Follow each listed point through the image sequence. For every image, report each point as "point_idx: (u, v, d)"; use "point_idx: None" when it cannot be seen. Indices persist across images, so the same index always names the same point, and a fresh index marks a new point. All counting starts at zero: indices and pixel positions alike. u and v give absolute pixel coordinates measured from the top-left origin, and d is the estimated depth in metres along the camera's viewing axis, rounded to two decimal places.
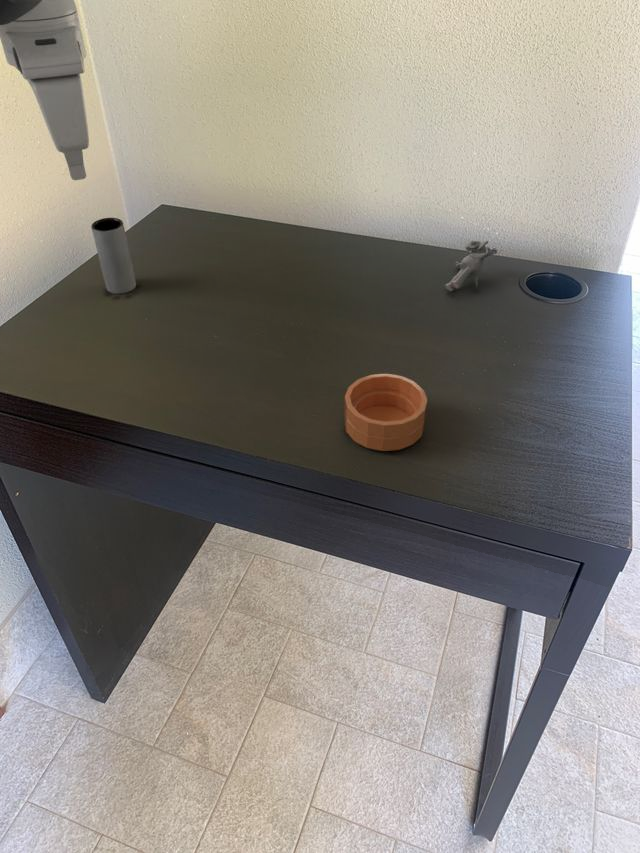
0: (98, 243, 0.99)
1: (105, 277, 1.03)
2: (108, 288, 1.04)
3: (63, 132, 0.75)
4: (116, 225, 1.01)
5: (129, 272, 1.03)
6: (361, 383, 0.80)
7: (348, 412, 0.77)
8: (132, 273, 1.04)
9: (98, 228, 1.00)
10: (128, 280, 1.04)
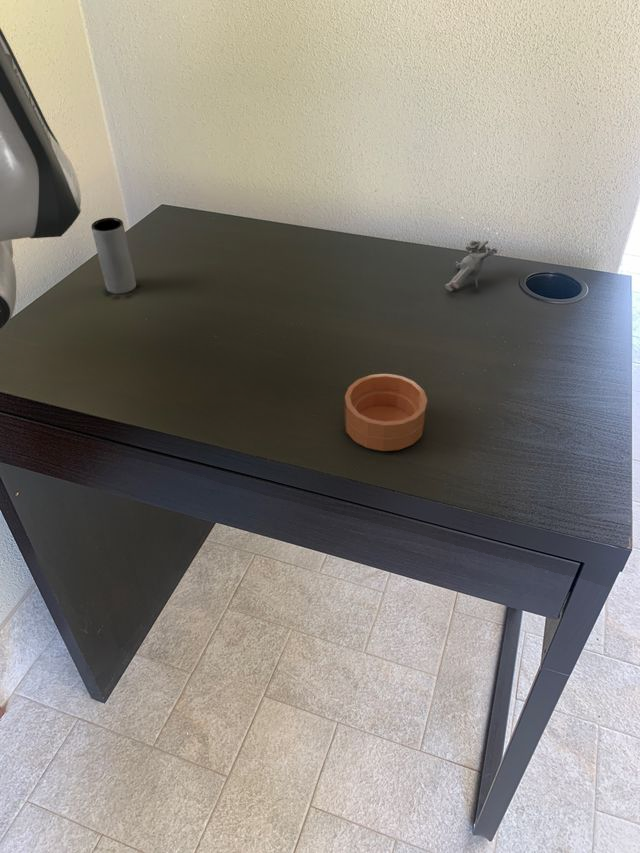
0: (98, 243, 0.99)
1: (105, 277, 1.03)
2: (108, 288, 1.04)
3: None
4: (116, 225, 1.01)
5: (129, 272, 1.03)
6: (361, 383, 0.80)
7: (348, 412, 0.77)
8: (132, 273, 1.04)
9: (98, 228, 1.00)
10: (128, 280, 1.04)
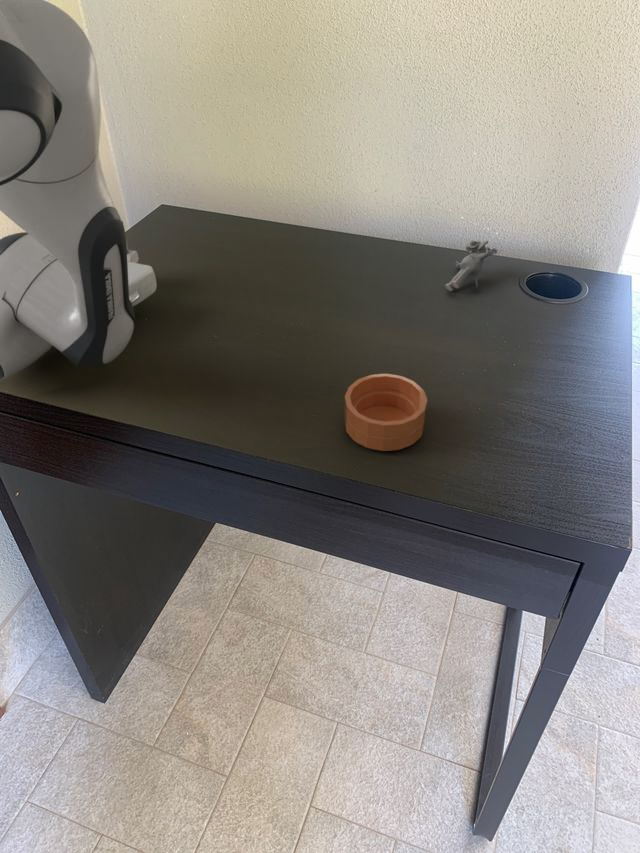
0: None
1: None
2: None
3: None
4: None
5: None
6: (361, 383, 0.80)
7: (348, 412, 0.77)
8: None
9: None
10: None
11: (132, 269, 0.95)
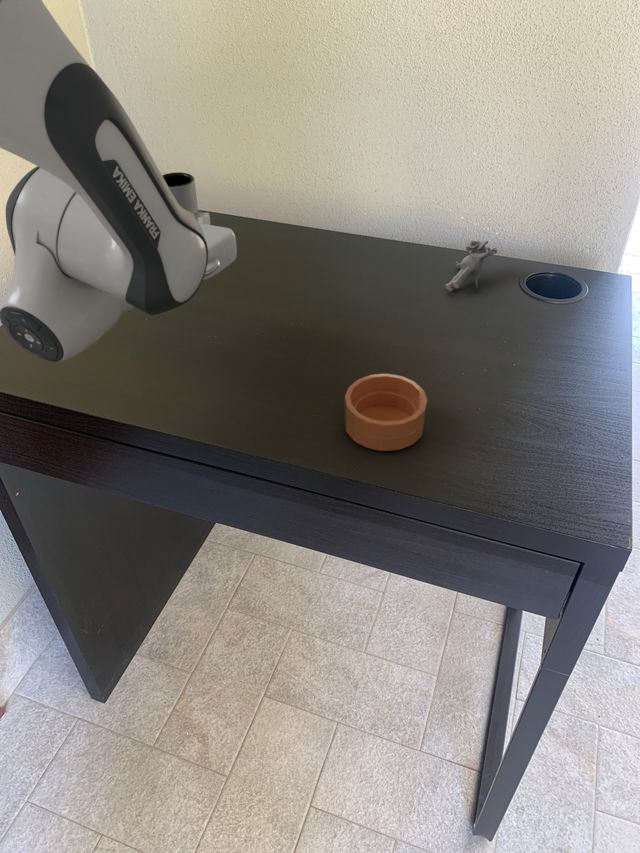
0: None
1: None
2: None
3: None
4: (184, 181, 0.84)
5: None
6: (361, 383, 0.80)
7: (348, 412, 0.77)
8: None
9: None
10: None
11: (209, 232, 0.78)
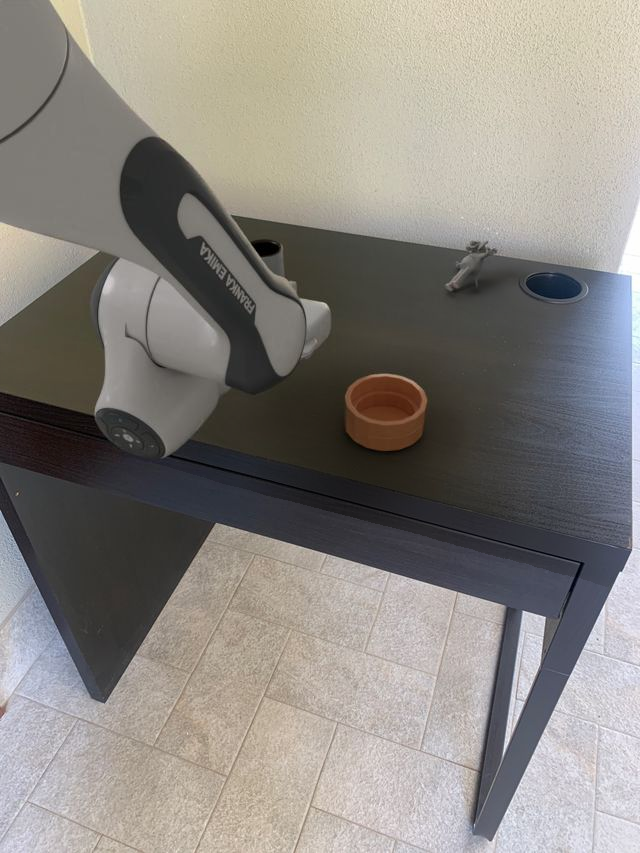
0: None
1: None
2: None
3: None
4: (271, 249, 0.79)
5: None
6: (361, 383, 0.80)
7: (348, 412, 0.77)
8: None
9: None
10: None
11: (304, 307, 0.73)
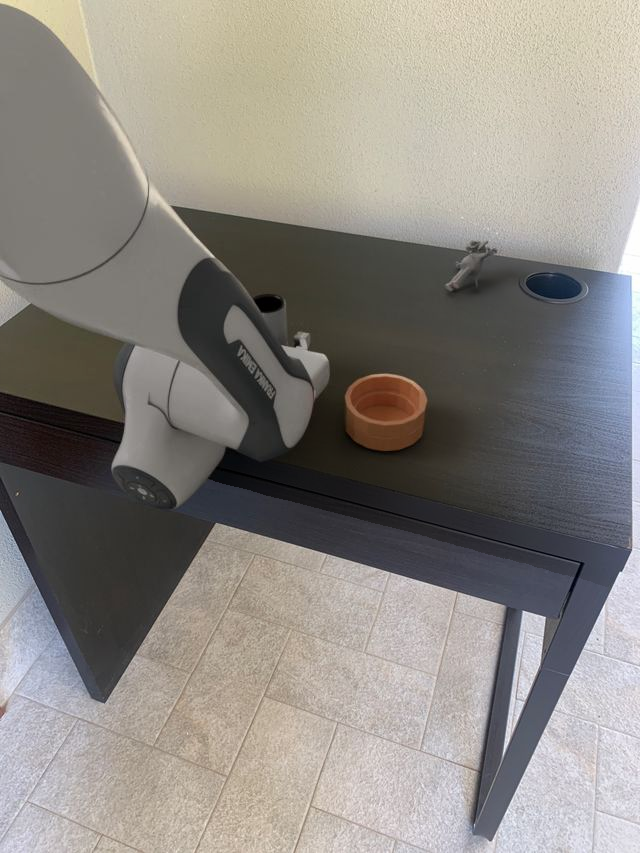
0: None
1: None
2: None
3: None
4: (274, 302, 0.84)
5: None
6: (361, 383, 0.80)
7: (348, 412, 0.77)
8: None
9: None
10: None
11: (304, 359, 0.78)
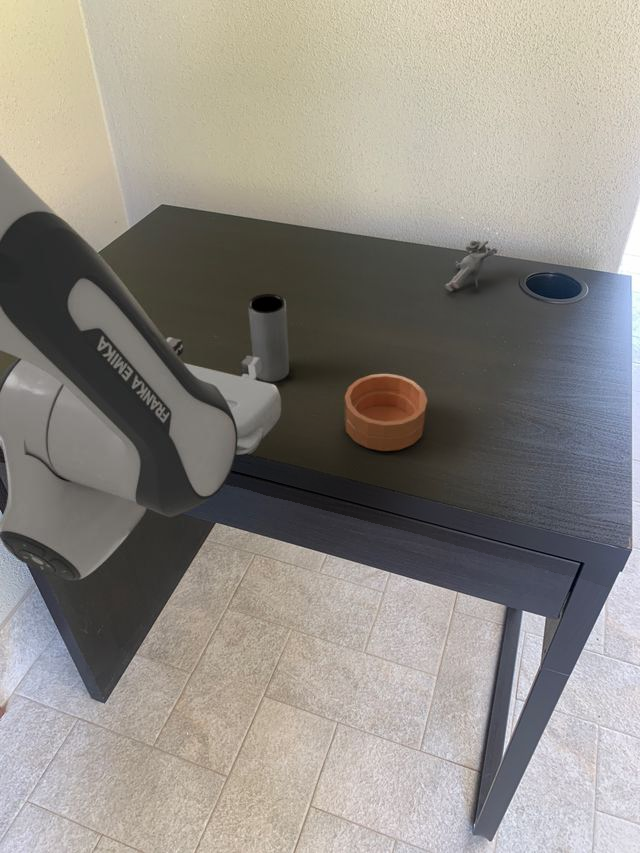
0: (256, 326, 0.82)
1: None
2: (259, 375, 0.87)
3: None
4: (274, 302, 0.84)
5: (286, 357, 0.86)
6: (361, 383, 0.80)
7: (348, 412, 0.77)
8: (288, 357, 0.87)
9: (254, 307, 0.83)
10: (284, 366, 0.87)
11: (250, 391, 0.66)
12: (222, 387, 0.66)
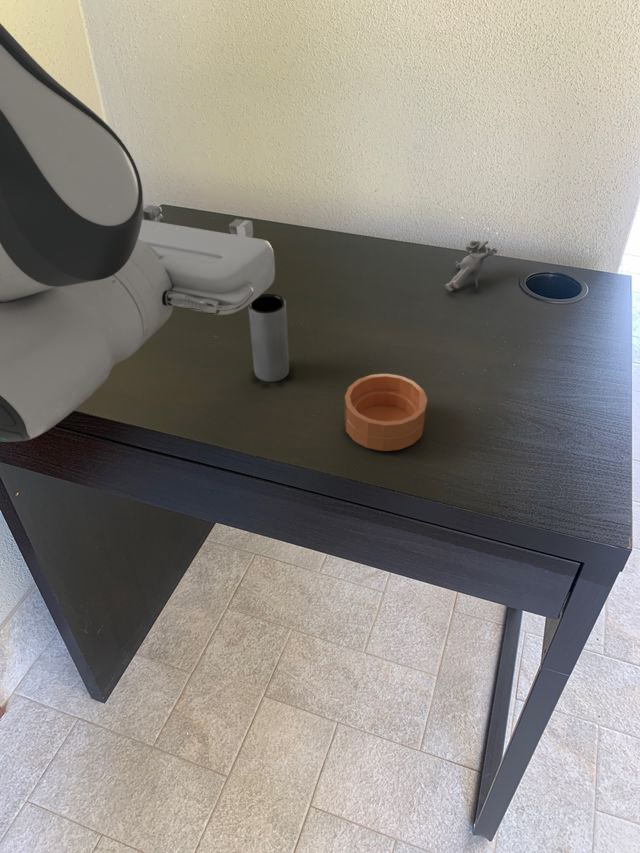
0: (256, 326, 0.82)
1: (257, 363, 0.86)
2: (259, 375, 0.87)
3: None
4: (274, 302, 0.84)
5: (286, 357, 0.86)
6: (361, 383, 0.80)
7: (348, 412, 0.77)
8: (288, 357, 0.87)
9: (254, 307, 0.83)
10: (284, 366, 0.87)
11: (237, 245, 0.55)
12: (204, 243, 0.56)
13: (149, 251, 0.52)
